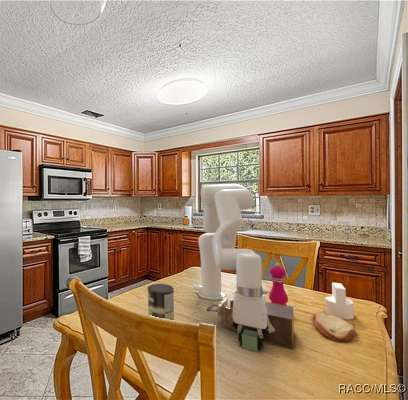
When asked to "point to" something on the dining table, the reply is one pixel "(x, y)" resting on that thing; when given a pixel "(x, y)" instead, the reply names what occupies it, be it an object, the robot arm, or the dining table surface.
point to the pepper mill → (278, 285)
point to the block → (249, 340)
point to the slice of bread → (334, 327)
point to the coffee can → (161, 301)
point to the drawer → (222, 312)
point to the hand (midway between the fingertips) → (250, 345)
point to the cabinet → (279, 325)
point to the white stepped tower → (339, 303)
